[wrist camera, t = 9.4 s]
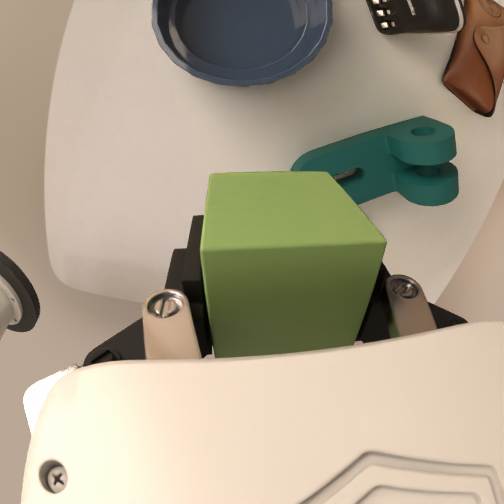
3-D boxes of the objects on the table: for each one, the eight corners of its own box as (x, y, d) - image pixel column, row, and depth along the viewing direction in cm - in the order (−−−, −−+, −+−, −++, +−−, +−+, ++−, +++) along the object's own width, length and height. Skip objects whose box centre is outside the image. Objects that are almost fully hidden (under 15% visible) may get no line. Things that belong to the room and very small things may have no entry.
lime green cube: (219, 297, 14) (220, 391, 10) (209, 172, 10) (198, 249, 6) (311, 291, 14) (340, 379, 10) (327, 170, 11) (388, 240, 7)
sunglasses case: (464, -23, 15) (511, -8, 11) (477, 5, 19) (517, 20, 15) (439, 84, 24) (490, 108, 20) (453, 102, 28) (495, 123, 24)
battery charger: (350, -19, 18) (409, -49, 9) (381, -20, 18) (445, -43, 8) (372, 39, 22) (441, 33, 13) (401, 35, 22) (473, 33, 12)
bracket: (423, 115, 27) (467, 132, 20) (430, 167, 30) (470, 193, 24) (280, 162, 29) (296, 190, 23) (299, 215, 33) (318, 254, 27)
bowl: (168, 91, 24) (155, 94, 20) (165, -34, 16) (153, -53, 12) (313, 86, 25) (332, 89, 21) (311, -36, 17) (328, -54, 13)
